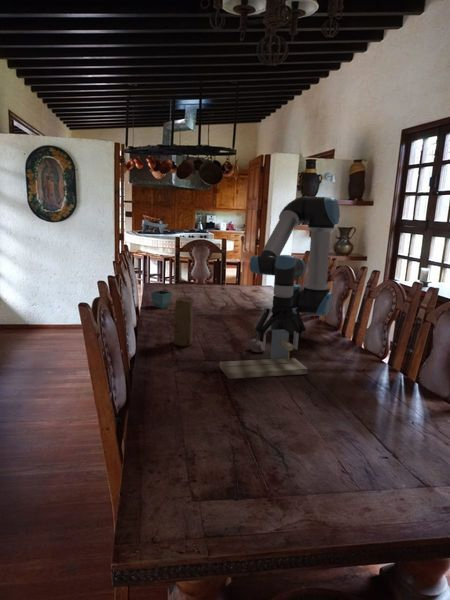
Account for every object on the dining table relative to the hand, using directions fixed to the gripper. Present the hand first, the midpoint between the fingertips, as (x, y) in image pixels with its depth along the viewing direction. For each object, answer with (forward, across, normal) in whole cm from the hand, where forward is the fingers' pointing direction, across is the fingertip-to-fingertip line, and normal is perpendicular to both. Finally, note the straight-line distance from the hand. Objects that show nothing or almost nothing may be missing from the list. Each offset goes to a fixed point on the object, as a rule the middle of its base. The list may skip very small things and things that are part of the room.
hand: (279, 349), depth 178 cm
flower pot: (+4, +33, -100) cm, 105 cm away
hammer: (+5, 0, +4) cm, 6 cm away
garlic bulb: (+5, +4, -14) cm, 15 cm away
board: (+5, +10, +9) cm, 14 cm away
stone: (+5, +33, -28) cm, 43 cm away
